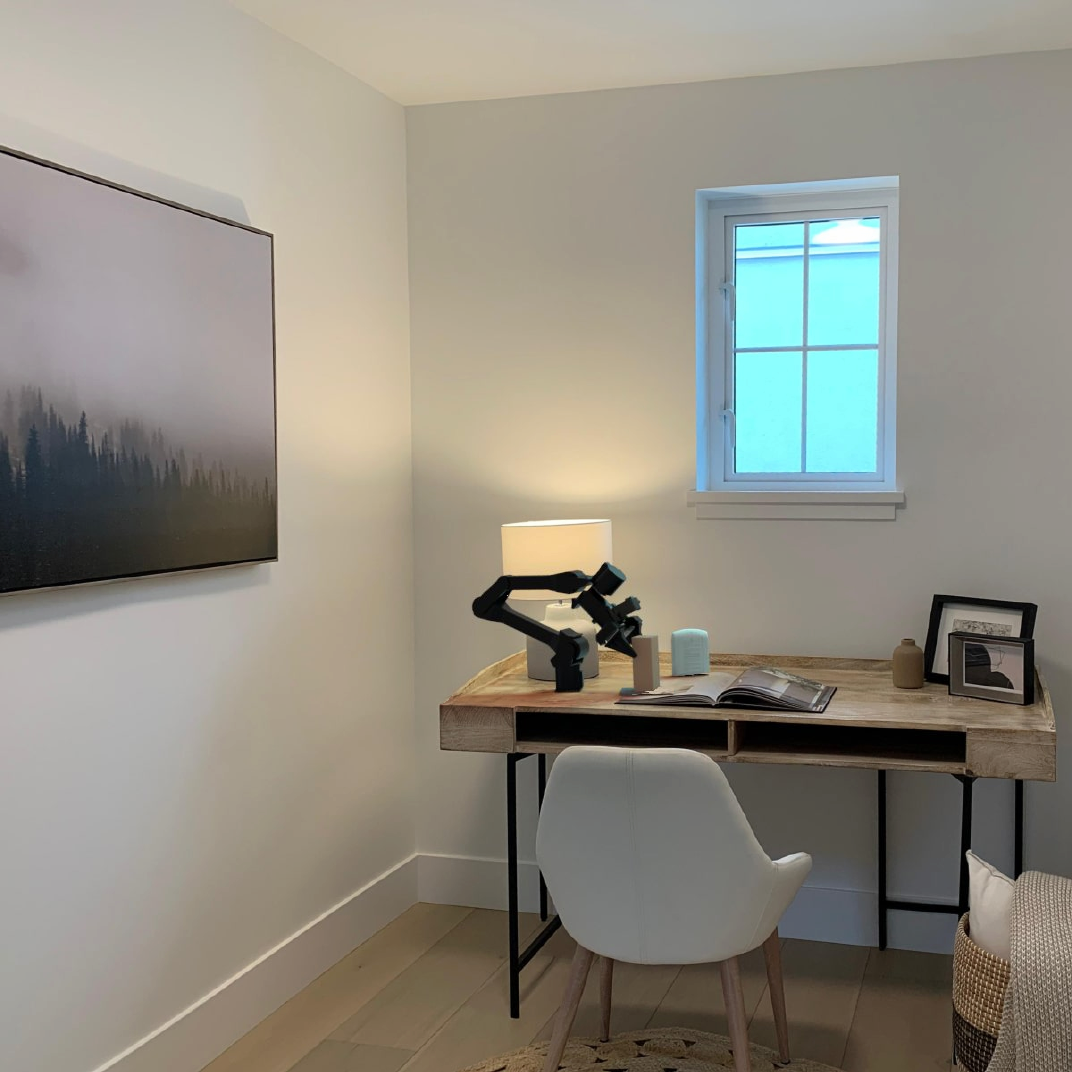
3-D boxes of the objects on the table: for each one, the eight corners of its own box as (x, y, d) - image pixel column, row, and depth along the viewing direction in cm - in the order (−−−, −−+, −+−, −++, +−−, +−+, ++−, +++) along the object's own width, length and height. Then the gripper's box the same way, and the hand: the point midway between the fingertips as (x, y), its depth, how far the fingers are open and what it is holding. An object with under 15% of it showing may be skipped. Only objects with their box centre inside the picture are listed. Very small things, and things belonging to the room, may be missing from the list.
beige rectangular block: (633, 691, 290) (631, 637, 290) (641, 687, 295) (638, 635, 294) (653, 691, 288) (651, 637, 288) (660, 688, 292) (658, 635, 292)
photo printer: (707, 673, 320) (705, 627, 320) (712, 675, 316) (710, 628, 316) (670, 675, 319) (668, 629, 319) (674, 677, 315) (672, 630, 314)
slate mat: (619, 695, 288) (619, 693, 288) (622, 689, 297) (622, 687, 297) (673, 694, 286) (673, 692, 286) (674, 688, 295) (674, 686, 295)
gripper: (605, 589, 285) (650, 635, 280) (633, 583, 302) (676, 627, 297) (576, 621, 289) (620, 668, 284) (605, 614, 305) (647, 658, 301)
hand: (642, 654), depth 291 cm, fingers open, 9 cm apart
